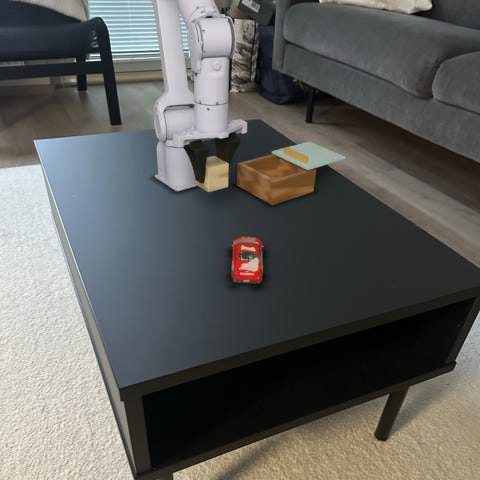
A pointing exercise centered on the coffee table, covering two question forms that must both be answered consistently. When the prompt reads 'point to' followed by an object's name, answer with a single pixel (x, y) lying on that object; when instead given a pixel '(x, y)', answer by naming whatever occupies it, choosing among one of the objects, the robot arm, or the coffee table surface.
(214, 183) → the block
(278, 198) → the case
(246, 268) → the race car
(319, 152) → the lid with orange handle
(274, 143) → the coffee table surface
